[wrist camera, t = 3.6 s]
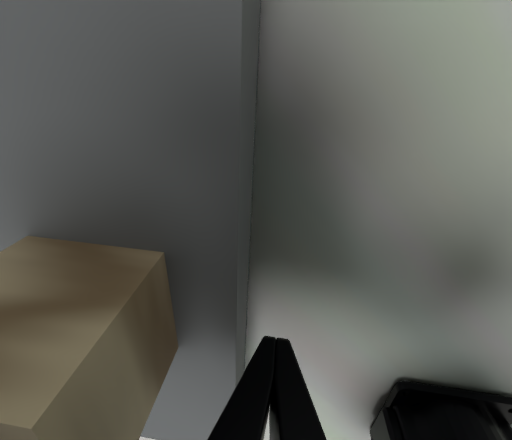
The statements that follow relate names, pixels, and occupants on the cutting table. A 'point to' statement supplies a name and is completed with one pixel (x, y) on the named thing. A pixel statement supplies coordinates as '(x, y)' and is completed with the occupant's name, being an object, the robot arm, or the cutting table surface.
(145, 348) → the maple block
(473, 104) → the cutting table surface
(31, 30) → the board
